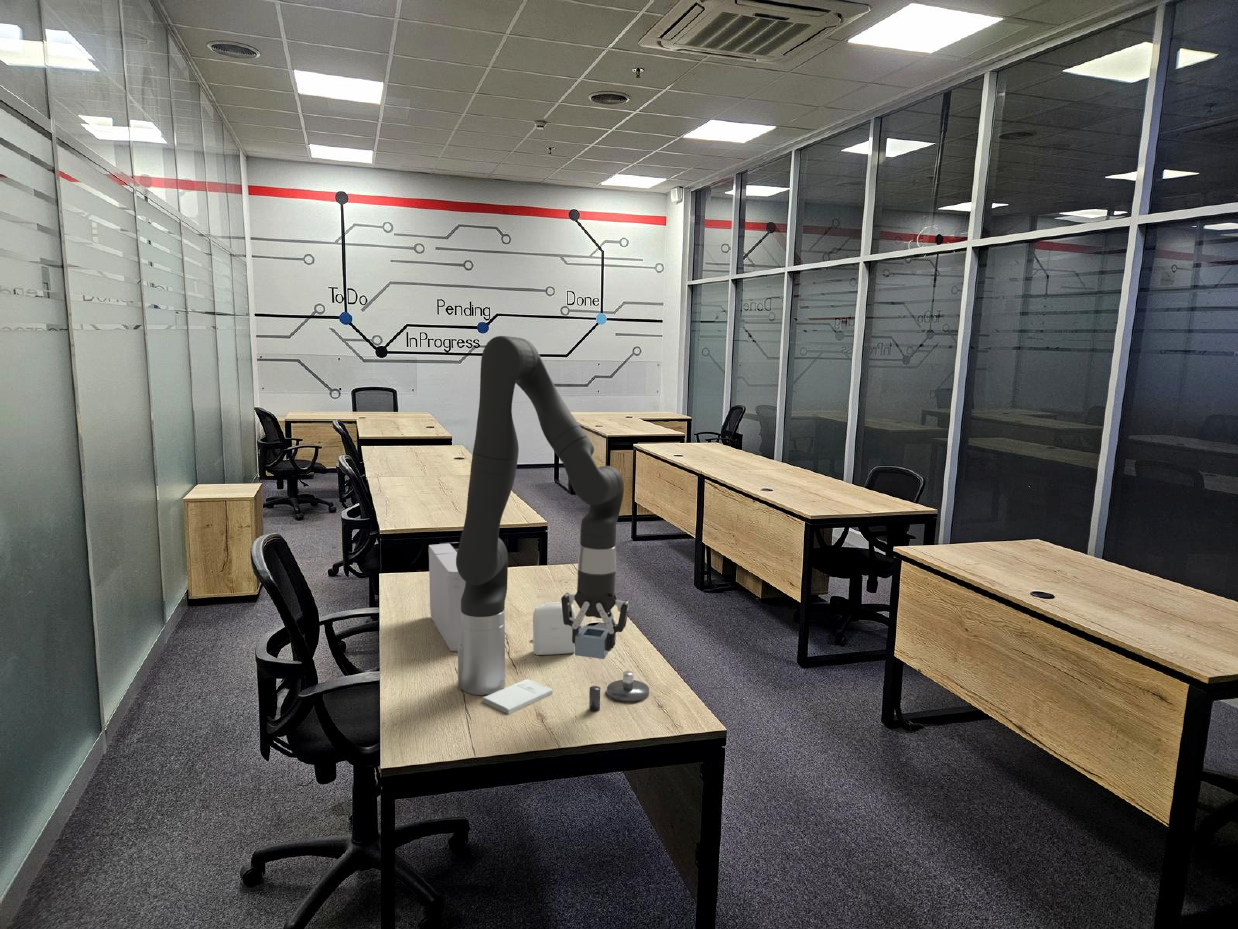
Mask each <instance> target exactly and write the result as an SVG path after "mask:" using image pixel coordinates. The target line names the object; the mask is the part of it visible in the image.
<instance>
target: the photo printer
mask: <svg viewBox="0 0 1238 929" xmlns="http://www.w3.org/2000/svg"><path fill="white" fill-rule="evenodd" d="M571 606H572V616H573V618H574V619H576V611H575V607H574V604H572V605H571ZM532 642H533V643H532V647H533V651H532V652H533V654H534V655H535V654H536V656H539V655H540V656H543V655H544V656H545V655H547V656H548V655H549V656H550V655H563V654H565V655H566V654H573V653H574V654H575V643H573V642H572V627H571V626H569V625H565V624H564V622H563V612H562V603H561V602H557V601H556V602H553V601H552V602H547V603H543V604H542V603H541V604H539V605H537V606H535V607H534V610H533V615H532Z"/></svg>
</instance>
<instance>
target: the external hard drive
mask: <svg viewBox="0 0 1238 929" xmlns="http://www.w3.org/2000/svg"><path fill="white" fill-rule="evenodd" d="M553 693H554V692H553V689H552V688H550V687H548V686H545V685H543V684H541V683H538V682H536V681H534V680H532V679H530V678H529V679H528V678H526V679H524V680H522V681H519V682H517V683H515V684H512V685H509V686H507V687H504V688H502V689H501V690H500V691H497V692H495V693H491V694H487V695H486V696H482V698H481V699H482V703H485V704H486V705H489V706H490V707H493V708H495V709H496V710H498V711H501V712H503V713H505V714H508V715H511V714H513V713H515V712H516V711H517V712H518V711H519V710H521V709H523V708H525V707H528V706H530V705H531V704H534V703H536V702H539V701H541V700H542V699H545V698H547V697H550V696H551V695H553Z"/></svg>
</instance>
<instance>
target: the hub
mask: <svg viewBox="0 0 1238 929" xmlns="http://www.w3.org/2000/svg"><path fill="white" fill-rule="evenodd" d="M606 695H607V696H608V697H609V699H611V700H614V701H616V702H622V703H626V702H632V703H638V702H642V701H644V700H646V699H647V698H648V697H649V695H650V687H649V686H648V684H646V683H645V682H643V681H640V680H635V679H634V672H633V671H631V670H625V671H623V672H622V679H618V680H615V681H612V682H611V683H608V685H607V687H606Z"/></svg>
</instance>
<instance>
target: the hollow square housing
mask: <svg viewBox="0 0 1238 929" xmlns="http://www.w3.org/2000/svg"><path fill="white" fill-rule="evenodd" d="M607 633H608V630H607V627H606V628H605V627H597V626H596V627H595V626H589V625H583V626H582V629H581V630H580V631H579V633H578V634H577V635H576V636H575V652H574V656H577V657H579V656H580V657H584V658H592V659H593V658H594V659H599V660H600V659H601V660H605V659H606V657H607V656H608V654H609V652H610V651H607Z"/></svg>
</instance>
